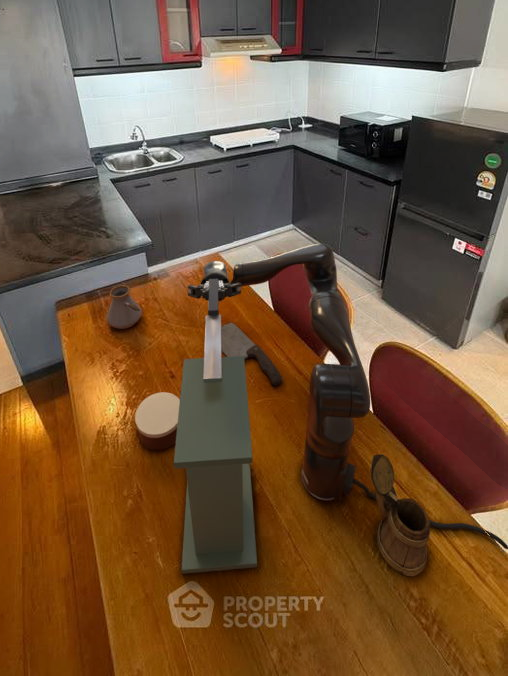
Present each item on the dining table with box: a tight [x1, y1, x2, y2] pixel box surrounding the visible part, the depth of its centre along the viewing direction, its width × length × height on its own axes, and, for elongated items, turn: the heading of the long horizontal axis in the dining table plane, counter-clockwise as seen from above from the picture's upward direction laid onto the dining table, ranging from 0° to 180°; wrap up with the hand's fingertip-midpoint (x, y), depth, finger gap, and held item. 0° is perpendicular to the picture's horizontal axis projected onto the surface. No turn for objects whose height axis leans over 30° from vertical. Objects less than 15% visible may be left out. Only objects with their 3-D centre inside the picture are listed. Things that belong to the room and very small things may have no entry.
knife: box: [203, 279, 223, 383], centre depth 78 cm, size 27×3×2 cm, turn 4°
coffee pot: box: [106, 284, 144, 330], centre depth 124 cm, size 21×12×15 cm, turn 39°
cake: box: [134, 391, 180, 451], centre depth 94 cm, size 11×11×6 cm
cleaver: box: [221, 321, 283, 387], centre depth 117 cm, size 29×10×2 cm, turn 37°
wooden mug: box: [370, 453, 431, 577], centre depth 72 cm, size 9×14×18 cm, turn 41°
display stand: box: [173, 356, 258, 575], centre depth 73 cm, size 21×14×32 cm, turn 4°
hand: (213, 295), depth 83 cm, fingers closed on knife, 2 cm apart
